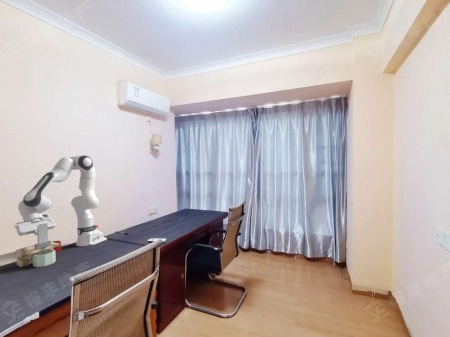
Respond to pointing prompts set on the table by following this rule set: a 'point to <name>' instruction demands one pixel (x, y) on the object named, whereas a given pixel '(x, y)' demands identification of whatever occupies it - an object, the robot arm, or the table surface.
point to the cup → (44, 258)
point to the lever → (57, 246)
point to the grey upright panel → (42, 236)
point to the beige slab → (30, 254)
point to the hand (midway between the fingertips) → (41, 236)
